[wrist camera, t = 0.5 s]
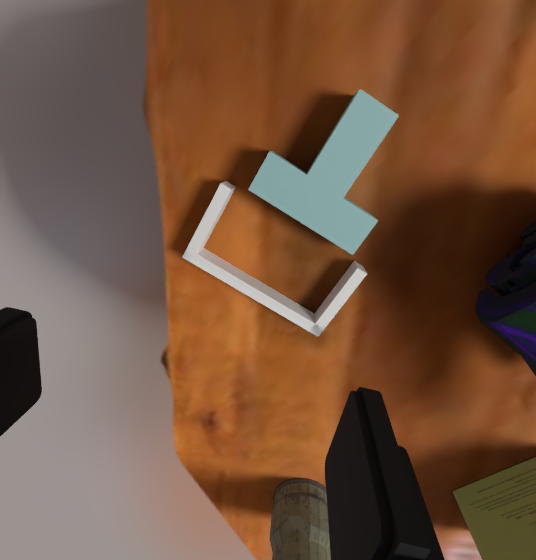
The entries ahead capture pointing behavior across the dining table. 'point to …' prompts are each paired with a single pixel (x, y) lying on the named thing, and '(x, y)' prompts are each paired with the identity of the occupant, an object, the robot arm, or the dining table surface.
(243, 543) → the dining table surface
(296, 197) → the t block
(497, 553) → the protein box
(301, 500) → the thermos
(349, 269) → the dock
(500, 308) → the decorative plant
